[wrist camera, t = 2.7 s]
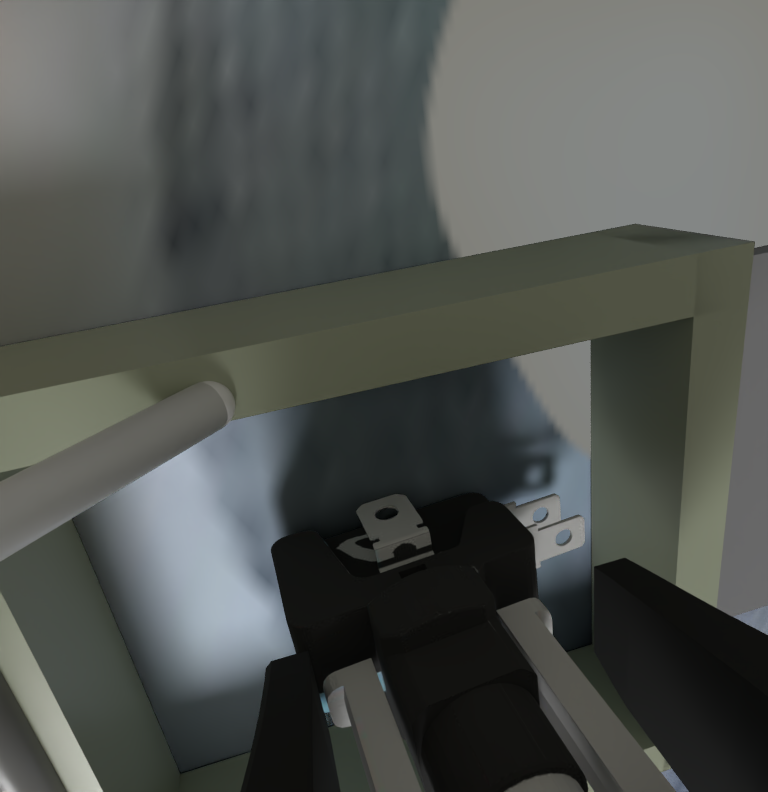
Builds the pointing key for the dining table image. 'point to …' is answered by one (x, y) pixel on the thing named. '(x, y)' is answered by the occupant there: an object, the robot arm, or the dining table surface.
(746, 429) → the mat
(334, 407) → the dining table surface
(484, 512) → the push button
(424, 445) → the dining table surface
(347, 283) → the equipment case
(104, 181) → the dining table surface
